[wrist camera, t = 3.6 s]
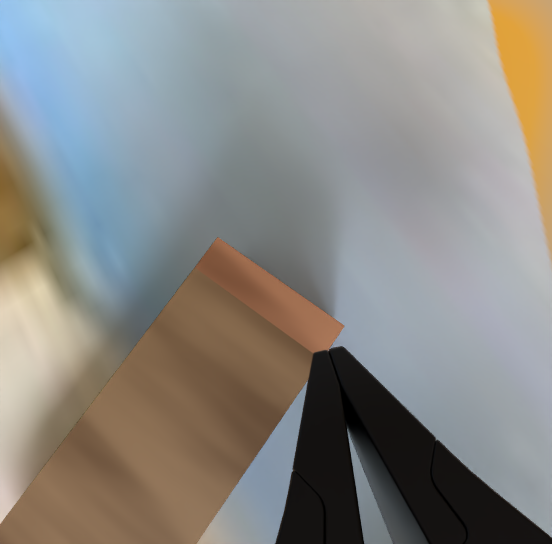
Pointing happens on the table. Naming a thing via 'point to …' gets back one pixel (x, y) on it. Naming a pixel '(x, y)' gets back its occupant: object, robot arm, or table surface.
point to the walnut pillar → (179, 413)
